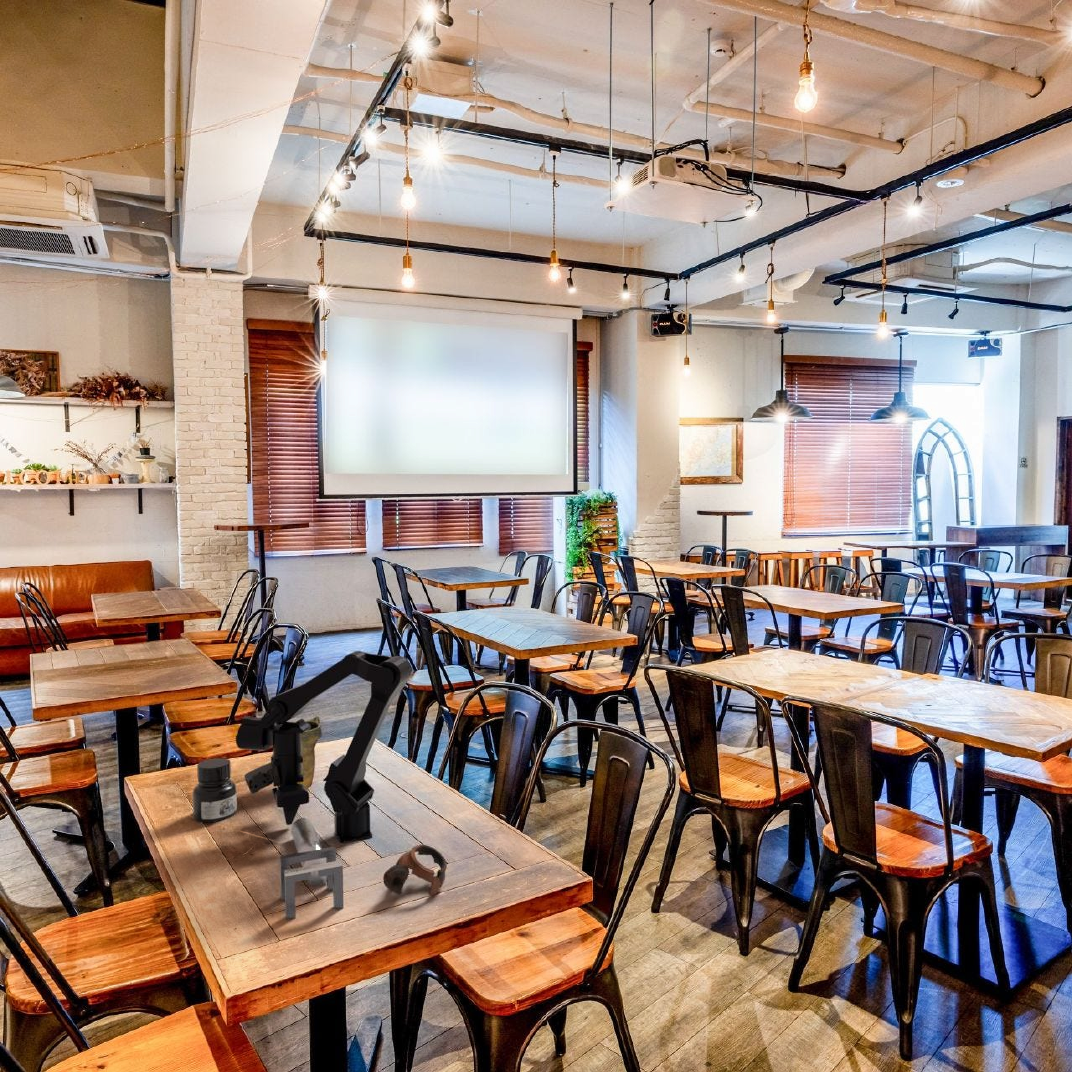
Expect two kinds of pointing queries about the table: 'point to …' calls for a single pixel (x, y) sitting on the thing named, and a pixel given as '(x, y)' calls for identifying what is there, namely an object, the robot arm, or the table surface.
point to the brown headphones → (416, 870)
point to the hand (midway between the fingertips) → (289, 824)
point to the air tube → (308, 847)
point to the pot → (309, 750)
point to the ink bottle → (214, 791)
